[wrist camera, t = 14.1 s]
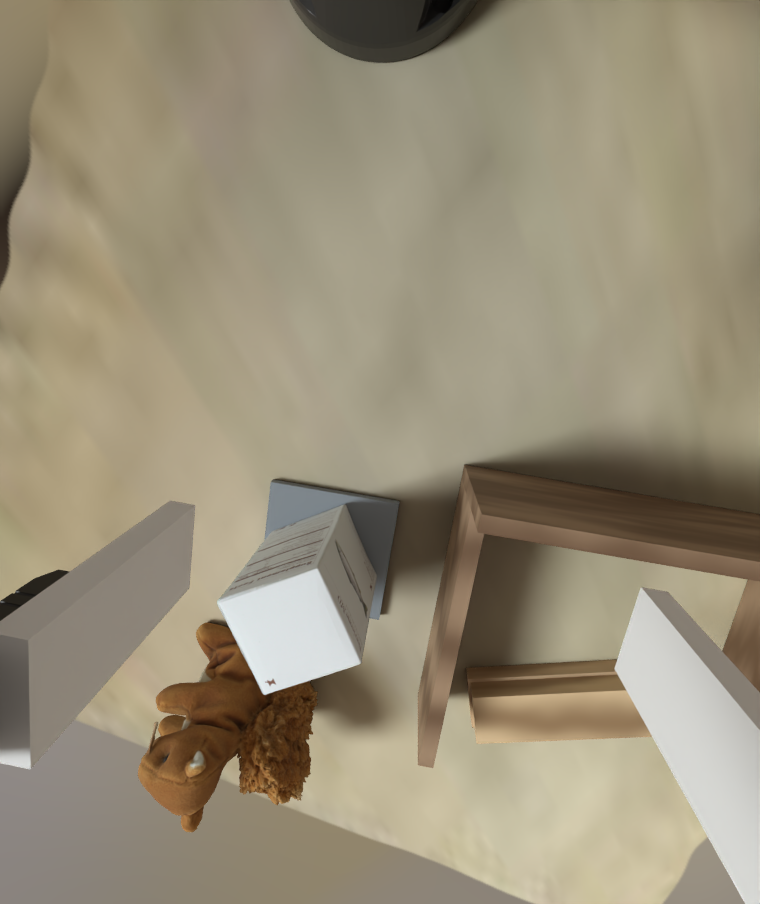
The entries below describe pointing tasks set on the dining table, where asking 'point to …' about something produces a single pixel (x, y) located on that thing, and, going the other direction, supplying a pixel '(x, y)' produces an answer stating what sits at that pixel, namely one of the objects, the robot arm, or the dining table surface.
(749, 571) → the walnut rack
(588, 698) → the offcut stack
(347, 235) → the dining table surface
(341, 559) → the supplement box
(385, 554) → the slate mat
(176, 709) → the stuffed squirrel
